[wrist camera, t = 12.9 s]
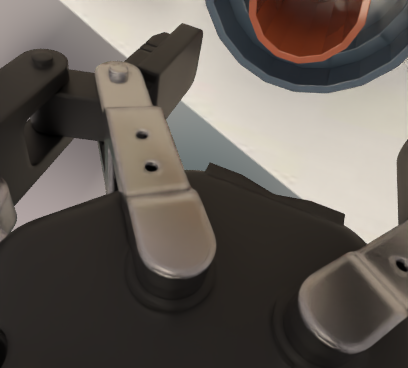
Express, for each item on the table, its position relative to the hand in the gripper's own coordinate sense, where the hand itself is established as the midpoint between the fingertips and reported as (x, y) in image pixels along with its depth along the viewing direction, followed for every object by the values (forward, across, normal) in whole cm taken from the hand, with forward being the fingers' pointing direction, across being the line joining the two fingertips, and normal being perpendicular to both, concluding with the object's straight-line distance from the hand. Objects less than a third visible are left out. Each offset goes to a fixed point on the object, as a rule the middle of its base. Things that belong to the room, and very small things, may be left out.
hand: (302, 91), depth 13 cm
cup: (+18, +1, 0) cm, 18 cm away
